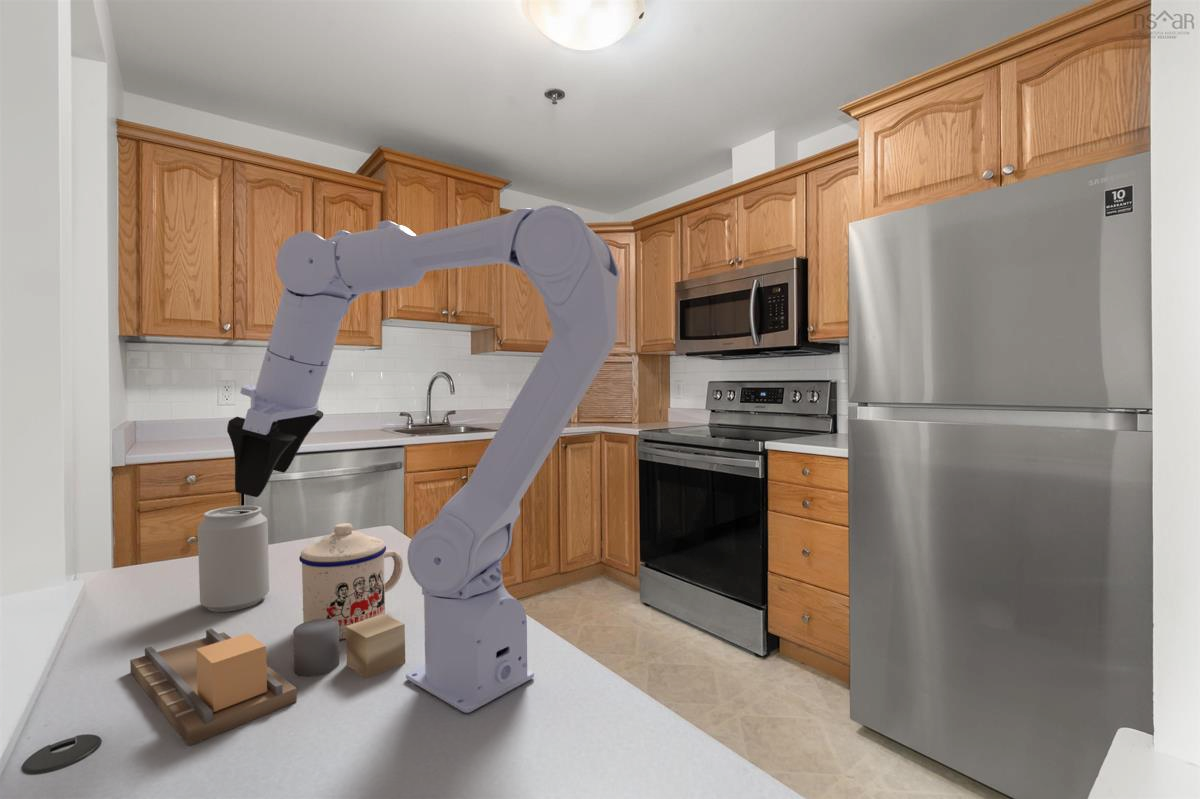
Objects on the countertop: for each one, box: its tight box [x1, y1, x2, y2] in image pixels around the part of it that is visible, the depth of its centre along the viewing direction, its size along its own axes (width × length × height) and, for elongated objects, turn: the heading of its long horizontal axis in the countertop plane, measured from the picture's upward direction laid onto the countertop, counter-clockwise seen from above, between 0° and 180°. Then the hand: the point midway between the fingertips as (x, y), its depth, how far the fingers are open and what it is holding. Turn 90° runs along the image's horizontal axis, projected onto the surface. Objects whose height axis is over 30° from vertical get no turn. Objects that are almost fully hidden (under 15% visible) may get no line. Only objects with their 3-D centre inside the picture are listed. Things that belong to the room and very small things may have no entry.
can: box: [197, 505, 270, 613], centre depth 74 cm, size 8×8×12 cm
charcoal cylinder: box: [292, 619, 340, 678], centre depth 57 cm, size 4×4×4 cm
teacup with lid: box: [298, 522, 404, 640], centre depth 68 cm, size 12×9×12 cm
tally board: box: [129, 628, 298, 747], centre depth 54 cm, size 18×8×2 cm, turn 50°
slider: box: [196, 632, 267, 712], centre depth 50 cm, size 4×4×4 cm
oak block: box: [345, 613, 406, 679], centre depth 58 cm, size 4×4×4 cm
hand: (262, 480), depth 60 cm, fingers open, 7 cm apart
